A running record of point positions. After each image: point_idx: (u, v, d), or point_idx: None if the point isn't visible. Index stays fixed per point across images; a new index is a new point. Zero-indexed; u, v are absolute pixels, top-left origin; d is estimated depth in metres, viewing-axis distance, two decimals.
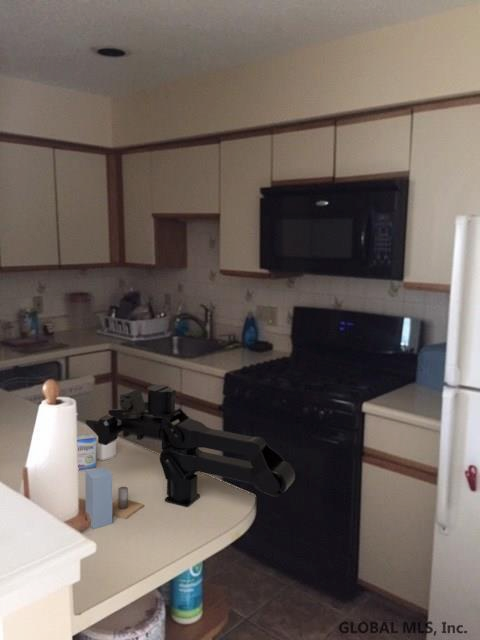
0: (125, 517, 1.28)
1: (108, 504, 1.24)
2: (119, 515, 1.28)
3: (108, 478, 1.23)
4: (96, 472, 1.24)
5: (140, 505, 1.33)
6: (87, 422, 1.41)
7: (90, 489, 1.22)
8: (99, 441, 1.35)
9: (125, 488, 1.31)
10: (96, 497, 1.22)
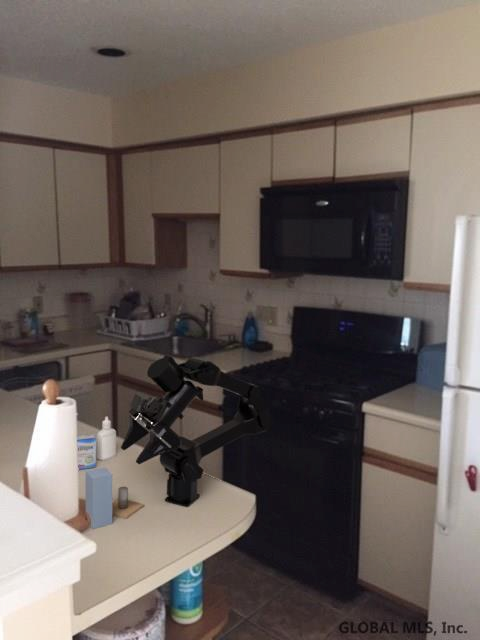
0: (125, 517, 1.28)
1: (108, 504, 1.24)
2: (119, 515, 1.28)
3: (108, 478, 1.23)
4: (96, 472, 1.24)
5: (140, 505, 1.33)
6: (139, 460, 1.25)
7: (90, 489, 1.22)
8: (176, 447, 1.24)
9: (125, 488, 1.31)
10: (96, 497, 1.22)
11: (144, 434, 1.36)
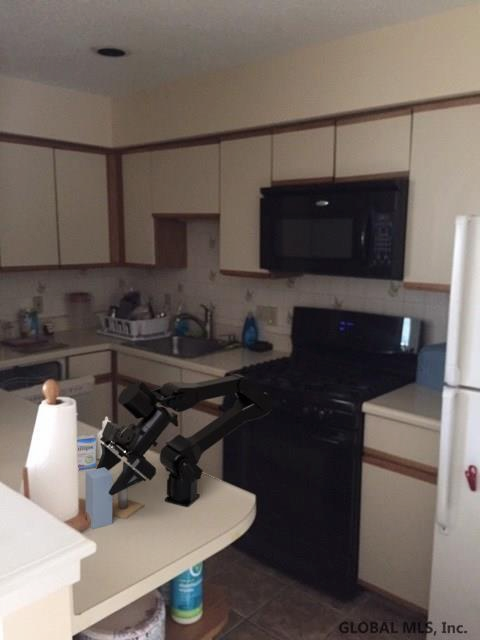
0: (125, 517, 1.28)
1: (108, 504, 1.24)
2: (119, 515, 1.28)
3: (108, 478, 1.23)
4: (96, 472, 1.24)
5: (140, 505, 1.33)
6: (112, 492, 1.21)
7: (90, 489, 1.22)
8: (150, 477, 1.21)
9: None
10: (96, 497, 1.22)
11: (116, 462, 1.32)
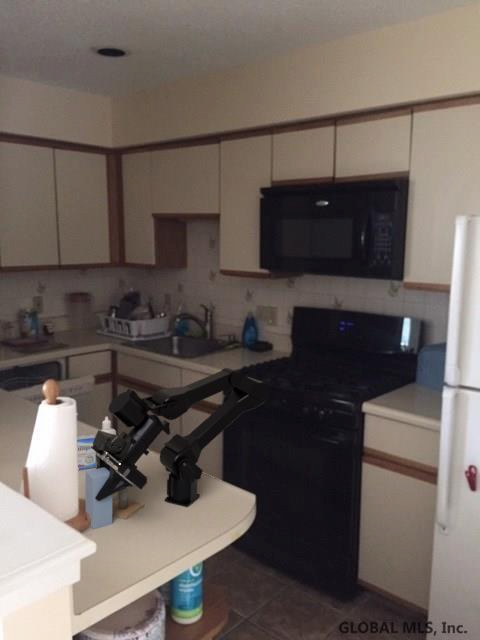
0: (125, 517, 1.28)
1: (108, 504, 1.24)
2: (119, 515, 1.28)
3: None
4: (96, 472, 1.24)
5: (140, 505, 1.33)
6: (99, 497, 1.22)
7: (90, 489, 1.22)
8: (141, 487, 1.20)
9: (125, 488, 1.31)
10: None
11: None
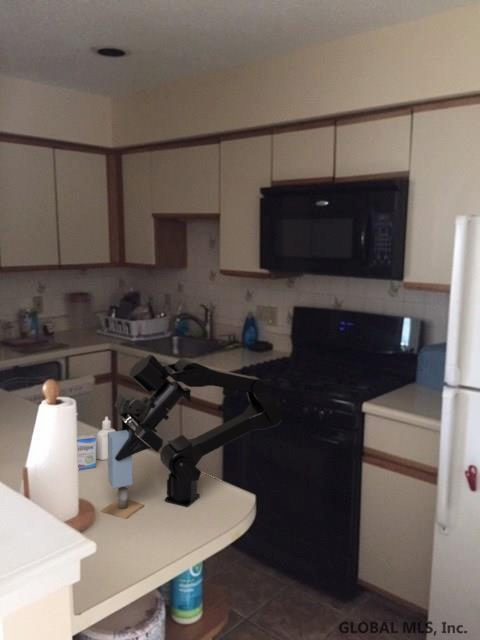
0: (125, 517, 1.28)
1: (128, 465, 1.28)
2: (119, 515, 1.28)
3: (127, 439, 1.27)
4: (117, 434, 1.29)
5: (140, 505, 1.33)
6: (119, 457, 1.26)
7: (111, 449, 1.27)
8: (156, 449, 1.23)
9: (125, 488, 1.31)
10: None
11: None
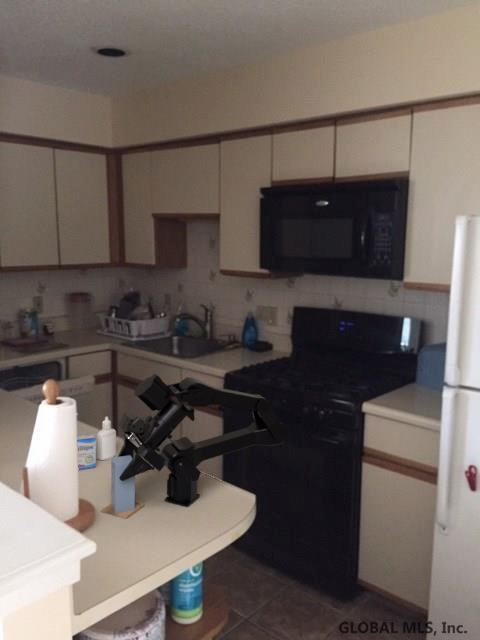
0: (125, 517, 1.28)
1: (130, 490, 1.30)
2: (119, 515, 1.28)
3: None
4: (121, 459, 1.30)
5: (140, 505, 1.33)
6: (123, 477, 1.27)
7: (114, 475, 1.29)
8: (158, 468, 1.24)
9: None
10: (119, 483, 1.28)
11: None
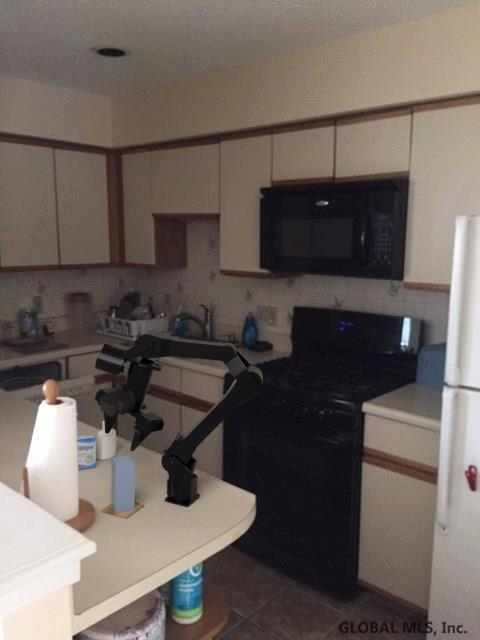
0: (125, 517, 1.28)
1: (130, 490, 1.30)
2: (119, 515, 1.28)
3: (131, 465, 1.29)
4: (121, 459, 1.30)
5: (140, 505, 1.33)
6: (134, 448, 1.34)
7: (114, 475, 1.29)
8: (161, 428, 1.32)
9: None
10: (119, 483, 1.28)
11: None
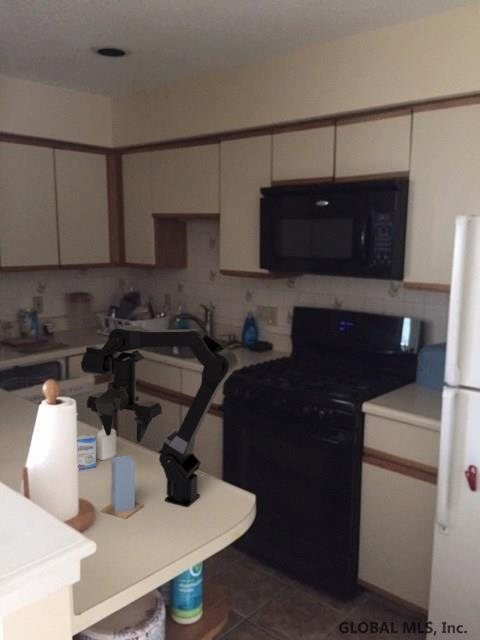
0: (125, 517, 1.28)
1: (130, 490, 1.30)
2: (119, 515, 1.28)
3: (131, 465, 1.29)
4: (121, 459, 1.30)
5: (140, 505, 1.33)
6: (140, 439, 1.39)
7: (114, 475, 1.29)
8: (160, 412, 1.38)
9: None
10: (119, 483, 1.28)
11: None
